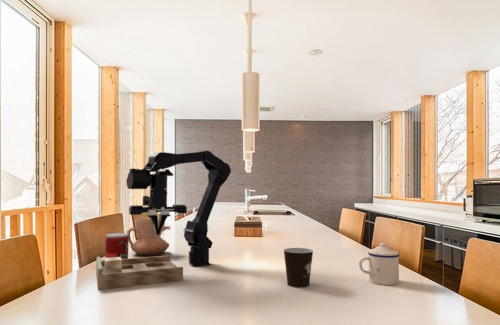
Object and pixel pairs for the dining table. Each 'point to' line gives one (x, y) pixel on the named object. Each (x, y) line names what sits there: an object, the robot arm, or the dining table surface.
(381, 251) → the teacup with lid
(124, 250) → the canned food
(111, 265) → the maple block
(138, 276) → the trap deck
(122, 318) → the dining table surface
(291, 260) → the coffee mug
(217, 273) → the dining table surface
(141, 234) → the ceramic jug
